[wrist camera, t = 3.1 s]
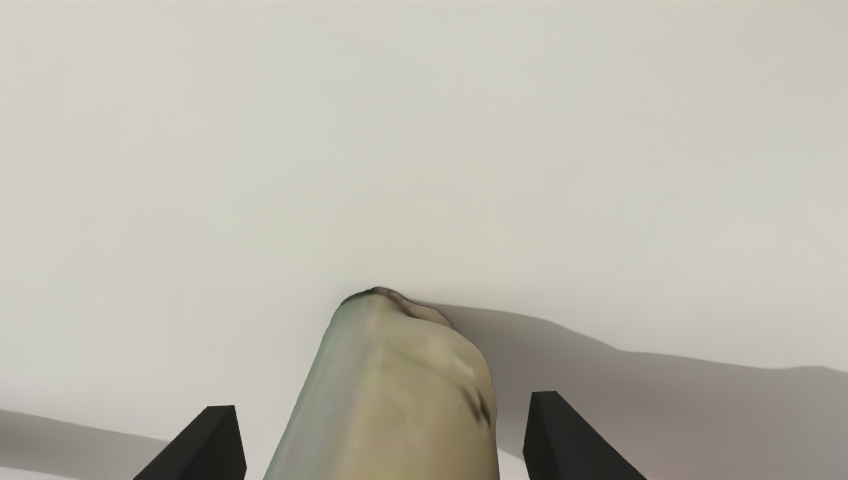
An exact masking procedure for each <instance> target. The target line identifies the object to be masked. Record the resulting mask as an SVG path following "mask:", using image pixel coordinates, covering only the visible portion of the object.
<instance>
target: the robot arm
mask: <svg viewBox="0 0 848 480" xmlns="http://www.w3.org/2000/svg"><path fill="white" fill-rule="evenodd" d="M523 455H524V459H525V463H526V467H527V471H528V475H529V478H530V480H647V479H646V478H645V477H644V476H643V475H641V474H640V473H639V472H638V471H637V470H636V469H635V468H634V467H633V466H632V465H631V464H630V463H628V462H627V461H626V460H625V459H624V458H623V457H622V456H621V455H620V454H619V453H618V452H617V451H616V450H615V449H614V448H613V447H612V446H611V445H609V444H608V443H607V442H606V441H605V440H604V439H603V438H602V437H601V436H600V435H599V434H598V433H597V432H596V431H595V430H594V429H593V428H592V427H591V426H590V425H589V424H588V423H587V422H586V421H585V420H584V419H583V418H582V417H581V416H580V415H579V414H578V413H577V412H576V411H575V410H574V409H573V408H572V407H571V406H570V405H569V404H568V403H567V402H566V401H565V400H564V399H563V398H562V397H561V396H560V395H559V394H558V393H557V392H556V391H544V392H532V395H531V402H530V408H529V415H528V421H527V427H526V434H525V440H524V447H523ZM246 470H247V466H246V461H245V456H244V451H243V446H242V441H241V436H240V431H239V426H238V421H237V416H236V411H235V406H234V405H228V406H207V407H206V408H205V409H204V410H203V411H202V412H201V413H200V414H199V415H198V416H197V417H196V418H195V419H194V420H193V421H192V422H191V423H190V424H189V425H188V426H187V427H186V428H185V429H184V430H183V431H182V432H181V433H180V434H179V435H178V436H177V437H176V438H175V439H174V440H173V441H172V442H171V443H170V444H169V445H168V446H167V447H166V448H165V449H164V450H163V451H162V452H161V453H160V454H159V455H157V456H156V457H155V458H154V459H153V460H152V461H151V462H150V463H149V464H148V465H147V466H146V467H145V468H144V469H143V470H142V471H141V472H140V473H139V474H138V475H137V476H136V477H135V478H134V479H133V480H244V477H245V473H246Z"/></svg>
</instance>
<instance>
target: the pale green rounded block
mask: <svg viewBox="0 0 848 480" xmlns="http://www.w3.org/2000/svg"><path fill="white" fill-rule="evenodd" d="M496 416H497V408H496V398H495V393H494V388H493V382H492V377H491V373H490V370H489V367H488V365H487V362H486V361H485V359H484V357H483V356H482V354H481V352H480V351H479V350H478V349H477V348H476V346H475V345H474V344H472V343H471V342H470V341H468V340H467V339H466V338H465V337H464V336H462V335H461V334H460V333H458V332H457V331H455V330H453V328H452V325H451V323H450V322H449V321H448V320H447V319H445V318H444V317H443V316H442V315H441V314H439V313H438V311H437V310H435V309H432V308H429V307H427V306H426V307H425V306H420V305H417V304H413V303H410V302H408V301H406V300H405V299H404V298H403V297H401V296H400V295H398V294H396V293H395V292H392V291H390V290H388V289H384V288H380V287H374V288H372V289H370V290H366V291H364V292H360V293H357V294H354V295H352V296H350V297H348V298H347V299H345V300H344V301H343V302H342V303H341V305H340V307H339V308H338V309H337V310H336V312H335V313H334V315H333V317H332V320H331V322H330V325H329V327H328V328H327V330H326V332H325V334H324V336H323V339H322V342H321V345H320V348H319V350H318V353H317V355H316V357H315V360H314V362H313V365H312V367H311V369H310V371H309V374H308V376H307V379H306V381H305V383H304V386H303V388H302V390H301V392H300V395H299V397H298V400H297V402H296V405H295V407H294V409H293V412H292V414H291V417H290V419H289V422H288V424H287V427H286V430H285V432H284V434H283V436H282V438H281V440H280V442H279V444H278V447H277V449H276V451H275V453H274V456H273V458H272V460H271V462H270V465H269V467H268V469H267V471H266V474H265V476H264V478H263V480H500V475H499V465H498V456H497V447H496Z"/></svg>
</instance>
